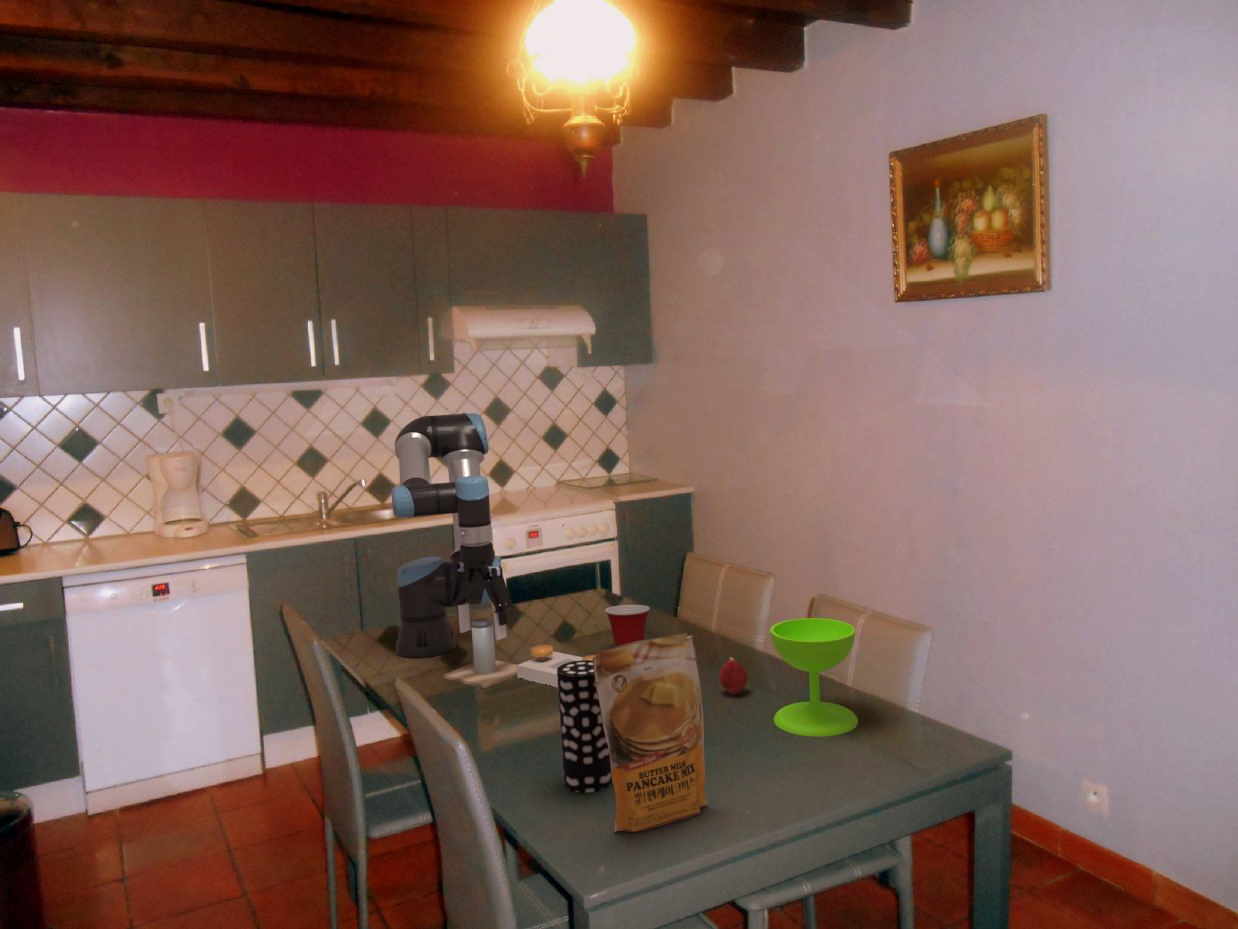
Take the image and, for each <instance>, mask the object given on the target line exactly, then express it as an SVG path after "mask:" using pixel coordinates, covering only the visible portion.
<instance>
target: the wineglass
mask: <svg viewBox="0 0 1238 929" xmlns="http://www.w3.org/2000/svg"><path fill="white" fill-rule="evenodd" d="M769 632H770V636H771V642H772V644H773V646H774V648H775V650H776V652H777V654H778V655H779V656H780V657H781V658H782V660H784V662H785V663H787V664H789V665H790V666H791V667H792V668H795V669H796V670H800V671H804V672H807V673H808V683H809V701H800V702H794V703H790V704H788V705H786V706H783V707H782V708H780V709H779V710H777V712H776V713H775V715H774V717H773V722H774V724H775V725H776V727H777V728H779V729H781V730H783V731H785V732H787V733H790V734H794V735H798V736H803V737H810V738H811V737H813V738H814V737H819V738H820V737H821V738H823V737H834V736H839V735H844V734H845V733H848V732H851V731H852V730H854V729H856V728H857V725H859V721H858V720H859V719H858V717H857V715H856V714H855V713H854V712H853V711H852V710H851V709H849V708H848V707H845V706H842V705H840V704H837V703H833V702H828V701H827V702H826V701H821V699H820V698H821V697H820V695H821V694H820V693H821V692H820V672H826V671H829V670H832V669H834V668H835V667H836V666H838V665H840V664H841V663H843V662H844V660H845V659H846V658H847V656H848V655H849V654H850V652H851V651H852V648H853V646H854V643H855V637H856V628H855V627H854V625H852V624H850V623H847V622H845V621H841V620H838V619H831V618H823V617H822V618H820V617H818V618H817V617H807V618H806V617H803V618H795V619H788V620H787V619H786V620H784V621H780V622H778V623H775V624H774V625H772V626H771V627H770V631H769Z"/></svg>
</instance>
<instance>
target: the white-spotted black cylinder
mask: <svg viewBox="0 0 1238 929" xmlns="http://www.w3.org/2000/svg"><path fill="white" fill-rule="evenodd" d="M557 680H558V687H557V691H558V708H559V726H560V737H561V741H560V742H561V754H562V767H563V768H562V769H563V770H562V771H563V784H564V786H565V788H566V789H568V790H569V791H572V792H576V793H584V794H585V793H594V792H600V791H602V790H604V789H607V788H608V787H609V786H611V785H612V784H613V781H612V775H611V763H610V752H609V748H608V744H607V740H606V737H605V733H604V728H603V723H602V717H601V710H600V703H599V697H598V693H597V690H596V684H595V677H594V669H593V660H580V661H573V662H568V663H565V664H563V665H561V666H559V667H558V668H557Z"/></svg>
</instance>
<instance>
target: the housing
mask: <svg viewBox="0 0 1238 929" xmlns="http://www.w3.org/2000/svg"><path fill="white" fill-rule="evenodd" d="M582 658H583V657H582V656H578V655H572V654H567V653H563V652H558V651H554V650H553V654H552V655H550V656H547V661H545V662H543V663H542V662H538V657H534V658H532V659H529V660H527V661H523V662H521V663H519V664H516V665H517V675H516V676H517V679H520V678H523V679H522V680H524V679H525V680H524V681H529V682H533V681H534V682H533V683H538V684H542V685H545V684H547V686H549V685H551V686H550V687H554V688H558V680H557V668H558V667H559V666H561V665H563V664H565V663H568V662H573V661H580V660H582Z"/></svg>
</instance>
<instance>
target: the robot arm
mask: <svg viewBox="0 0 1238 929" xmlns="http://www.w3.org/2000/svg"><path fill="white" fill-rule="evenodd" d="M489 447H490V446H489V441H488V435H487V430H486V426H485V422H484V420H483V417H482V416H481V415H480V414H479V413H475V412H473V413H471V412H470V413H467V412H462V413H453V414H440V415H438V414H437V415H424V416H420V417H418V418H415V419H414V420H411V421H410V422H409V423H407V424H406V425H405V426H404V427H403V428H402V429H401V430H400V431H399V433H398V434H397V437H396V439H395V442H394V454H395V456H396V457H397V459H398V465H399V466H398V468H399V469H398V470H399V486H394V487H393V488H392V489H391V502H392V503H391V505H392V506H391V507H392V514H393V517H395V518H399V519H400V518H401V519H402V518H404V519H405V518H408V519H410V518H411V519H412V518H417V517H418V518H420V517H428V516H429V517H430V516H439V515H452V526H453V535H454V536H453V538H454V546H455V547H454V548H455V549H454V550H453V551H452V552H451V553H450V555H449V556H450V561H445V562H444V560H443V557H441V556H437V555H435V556H426V557H422V558H418V559H414V560H411V561H408V562H406V563H403V564H402V565H401V566H400V567H399V568H398V570H397V584H396V586H397V589H398V601H399V613H400V615H399V616H400V626H399V629H398V635H397V640H396V641H395V642H396V643H395V651H396V654H397V655H398V656H400V657H404V658H414V659H415V658H429V657H435V656H439V655H442V654H443V655H444V654H446V653H448V652H450V651H452V650H454V649H455V648H456V646H457V644H456V643H457V642H456V637H455V634H454V632H453V629H452V627H451V625H450V622H449V619H448V616H447V608H451V607H456V613H457V618H458V623H459V624H458V625H459V633H461V634H462V633H463V634H464V633H466V632H469V631H472V628H471V618H470V615H471V614H470V606H471V605H472V606H473V605H479V604H481V605H483V604H487V603H492V605H493V607H494V608H495V610H494V612H493V618H494V619H493V624H494V635H495V636H494V638H495V641H500V640H502V639H505V638H507V623H508V620H507V619H508V618H507V611H508V610H509V609H512V608H513V606H514V605H513V602H512V599H511V596H510V594H509V590H508V587H507V584H506V581H505V578H504V574H503V567H502V558H501V557H500V556H496V553H495V549H494V547H493V546H494V544H493V543H492V540H493V528H492V520H491V503H490V487H489V481H488V478H487V477H486V476H485V475H481V467H480V466H481V464H482V462H484V460H485V455H487V454H488V453H489V450H490V448H489ZM431 458H434V459H435V458H441V463H442V465H443V466H445V467H446V468H447V469H448V482H441V483H440V482H439V483H432V480H431V479H432V478H431V472H430V471H431V470H430V460H429V459H431Z"/></svg>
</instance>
